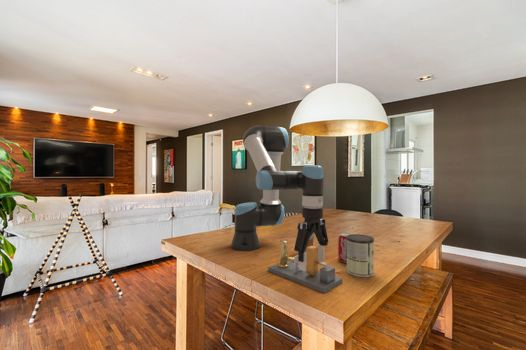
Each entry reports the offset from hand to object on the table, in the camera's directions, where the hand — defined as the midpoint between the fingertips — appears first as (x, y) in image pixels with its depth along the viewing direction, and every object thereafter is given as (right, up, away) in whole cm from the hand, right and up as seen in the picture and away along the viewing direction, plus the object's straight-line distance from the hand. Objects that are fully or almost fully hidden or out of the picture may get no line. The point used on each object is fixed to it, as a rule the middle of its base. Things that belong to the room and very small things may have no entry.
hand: (312, 266), depth 93 cm
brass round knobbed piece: (-9, -3, +9) cm, 13 cm away
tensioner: (+5, -4, -5) cm, 7 cm away
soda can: (+19, -5, +20) cm, 29 cm away
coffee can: (+21, -5, +7) cm, 23 cm away
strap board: (-3, -5, +3) cm, 6 cm away
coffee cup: (+3, -5, +29) cm, 30 cm away
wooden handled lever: (0, -3, 0) cm, 3 cm away
